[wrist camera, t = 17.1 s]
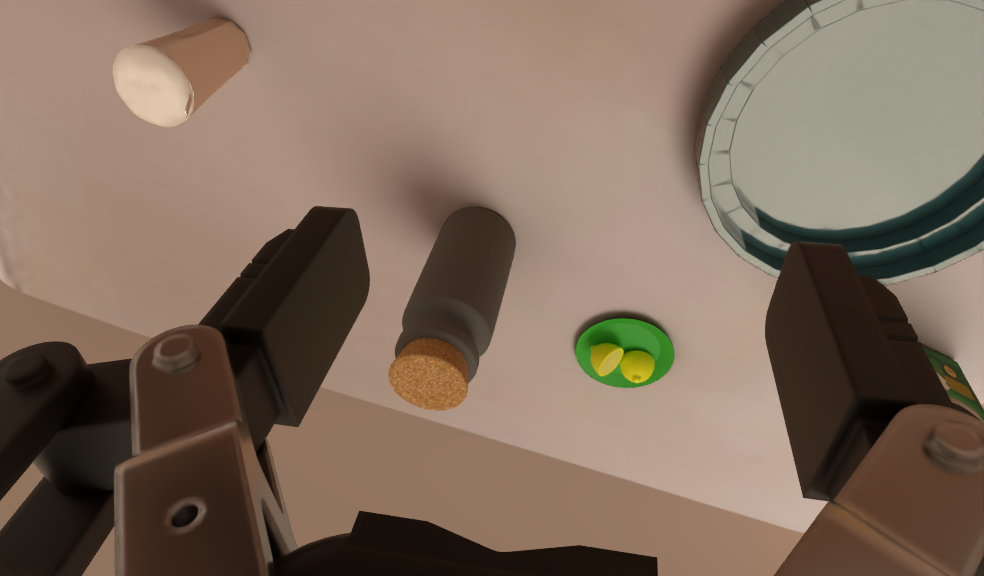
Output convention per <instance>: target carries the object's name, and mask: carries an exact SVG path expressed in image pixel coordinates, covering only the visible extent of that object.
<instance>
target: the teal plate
mask: <svg viewBox="0 0 984 576" xmlns="http://www.w3.org/2000/svg"><path fill="white" fill-rule="evenodd" d="M695 154H696V164H697V174H698V182H699V188H700V194H701V199H702V203H703V205H704V207H705V209H706V211H707V214H708V216H709V218H710V220H711V223H712V225H713V227H714V229H715V231H716V232H717V234H718V235H719V236H720V237H721V238H722V239H723V240H724V241H725V242H726V243H727V244H728V246H729V247H730V248H731V249H732V250H733V251H734V252H735V253H736V254H737V255H738V256H739V257H740V258H742V259H743V260H745V261H747V262H748V263H750V264H752V265H753V266H755V267H757V268H758V269H760V270H762V271H763V272H765V273H767V274H768V275H771V276H775V277H779V274H780V271H781V268H782V265H783V262H784V259H785V256H786V253H787V251H788V249H789V247H790V245H791V244H792V243H793V242H794V241H799V242H813V243H827V244H841V245H843V246H844V247H845V249H846V251H847V253H848V255H849V258H850V260H851V262H852V264H853V266H854V268H855V270H856V272H857V275H866V276H873V277H874V278H875V279H877V280H878V281H879V282H880V283H881V284H882V285H890V284H895V283H899V282H902V281H906V280H910V279H913V278H917V277H920V276H924V275H928V274H931V273H935V272H938V271H940V270H942V269H944V268H946V267H948V266H951V265H953V264H955V263H957V262H959V261H961V260H964V259H966V258H968V257H970V256H972V255H974V254H976V253H979V252H981V251H983V250H984V0H787V1H785V2H784V3H783V4H781V5H780V6H779V7H778V8H776V9H775V10H774V11H773V12H771V13H770V14H769V15H768V16H766V17H765V18H764V19H763V20H761V21H760V22H759V23H758V24H756V25H755V26H754V27H753V28H752V29H751V31H750V32H749V33H748V34H747V35H746V37H745V38H744V39H743V40H742V42H741V43H740V44H739V45H738V46H737V48H736V49H735V50H734V51H733V53H732V54H731V55H730V56H729V57H728V59H727V60H726V61H725V62H724V64H723V65H722V67H721V69H720V71H719V73H718V75H717V77H716V79H715V81H714V83H713V85H712V87H711V89H710V91H709V93H708V95H707V97H706V99H705V101H704V103H703V107H702V109H701V114H700V119H699V125H698V130H697V135H696V140H695Z"/></svg>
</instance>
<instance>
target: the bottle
mask: <svg viewBox="0 0 984 576" xmlns="http://www.w3.org/2000/svg"><path fill="white" fill-rule="evenodd" d="M515 247H516V240H515V235H514V232H513V230H512V228H511V227H510V225H509V224H508V222H507V221H506V220H504V219H503V218H502V217H501V216H499V215H498V214H496V213H495V212H492V211H490V210H487V209H483V208H475V207H471V208H464V209H461V210H459V211H457V212H455V213H453V214H452V215H451V216H450V217H449V218H448V219H447V220H446V222H445V223H444V225H443V227H442V229H441V231H440V234H439V236H438V238H437V240H436V242H435V244H434V246H433V248H432V251H431V253H430V255H429V257H428V260H427V262H426V264H425V266H424V268H423V271H422V273H421V275H420V277H419V279H418V282H417V284H416V286H415V288H414V291H413V293H412V295H411V297H410V300H409V302H408V304H407V307H406V309H405V311H404V315H403V319H402V326H403V330H404V331H403V332H402V333H401V335H400V337H399V339H398V341H397V344H396V347H395V357H396V359H395V360H394V362H393V363H392V364H391V366H390V369H389V374H388V375H389V381H390V384H391V386H392V387H393V389H394V390H395V392H396V393H397V394H398V395H399V396H400V397H402V398H403V399H404V400H406V401H408V402H409V403H411V404H413V405H415V406H417V407H420V408H424V409H429V410H447V409H451V408H454V407H456V406H458V405H459V404H460V403H462V402H463V400H464V399H465V397H466V395H467V391H468V383H469V382H470V381H471V380H472V379H473V377H474V376H475V374H476V371H477V368H478V365H479V357H480V356H482V355H483V354H484V353H485V351H486V350H487V348H488V346H489V344H490V342H491V338H492V335H493V332H494V328H495V324H496V321H497V317H498V313H499V310H500V306H501V302H502V299H503V295H504V291H505V288H506V284H507V280H508V276H509V272H510V268H511V265H512V261H513V257H514V252H515Z"/></svg>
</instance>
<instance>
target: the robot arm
mask: <svg viewBox="0 0 984 576" xmlns="http://www.w3.org/2000/svg"><path fill="white" fill-rule="evenodd" d="M369 285H370V275H369V268H368V263H367V258H366V253H365V248H364V243H363V238H362V233H361V229H360V224H359V219H358V216H357V214H356V212H355V211H354V210H353V209H350V208H336V207H322V206H315V207H313V208H312V209H311V210H310V211H309V212H308V213H307V215H306V216H305V217H304V218H303V220H302V221H301V222H300V223H299V225H298V226H297V227H296V228H295V230H294V229H287V230H286V231H284V232H283V233H281V234H280V235H278V236H276V237H275V238H273V239H272V240H270V241H269V242H267V243H266V244H265V245H264V246H263V247H262V249H261V250H260V251H259V252H258V253H257V255H256V256H255V257H254V258H253V259H252V263H249V264H248V265H247V266H246V268H245V269H244V270H243V271H242V272H241V277H237V278H236V280H235V281H234V282H233V283H232V284H231V286H230V287H229V288H228V289H227V290H226V292H225V293H224V294H223V295H222V296H221V298H220V299H219V300H218V301H217V302H216V304H215V305H214V306H213V307H212V308H211V310H210V311H209V312H208V313H207V314H206V316H205V317H204V318H203V319H202V320H201V322H200V323H199V324H198V325H186V326H181V327H177V328H173V329H171V330H168V331H165V332H163V333H161V334H159V335H157V336H155V337H154V338H152V339H151V340H149V341H148V342H146V343H145V344H144V345H143V346H142V347H141V348H140V349H139V350H138V351H137V352H136V353H135V355H134V357H133V358H132V359H125V360H118V361H110V362H103V363H96V364H88V365H87V363H86V362H85V360H84V359H83V357H82V356H81V354H80V353H79V351H78V350H77V348H76V347H75V346H73V345H71V344H69V343H66V342H44V343H40V344H35V345H32V346H29V347H26V348H23V349H21V350H18V351H16V352H14V353H12V354H10V355H8V356H7V357H5V358H3V359H2V360H0V500H1V499H2V498H3V497H4V496H5V495H6V493H7V492H8V491H9V490H10V489H11V487H12V486H13V485H14V484H15V483H16V481H17V480H18V479H19V478H20V477H21V475H22V474H23V473H24V472H25V471H26V469H27V468H28V467H29V466H30V465H31V463H32V462H33V463H34V464H35V466H36V467H37V468H38V469H39V470H40V471H41V473H42V474H43V475H44V478H43V479H42V480H41V481H40V482H39V484H38V485H37V486H36V487H35V489H34V490H33V491H32V492H31V494H30V495H29V496H28V497H27V499H26V500H25V501H24V502H23V503H22V505H21V506H20V507H19V508H18V510H17V511H16V513H14V515H13V516H12V517H11V518H10V520H9V521H8V522H7V523H6V525H5V526H4V527H3V528H2V530H1V531H0V576H82V574H83V573H84V571H85V570H86V568H87V567H88V565H89V564H90V562H91V561H92V559H93V557H94V556H95V555H96V553H97V552H98V550H99V548H100V547H101V545H102V544H103V542H104V541H105V539H106V538H107V536H108V535H109V533H110V532H111V530H112V529H113V527H114V533H115V534H114V538H115V540H114V541H115V542H114V545H115V576H658V573H657V572H658V571H657V569H658V568H657V557H651V556H644V555H638V554H631V553H625V552H619V551H612V550H606V549H599V548H593V547H587V546H581V545H578V546H567V547H556V548H545V549H535V550H524V551H513V552H497V551H494V550H491V549H489V548H487V547H484V546H482V545H480V544H478V543H475V542H473V541H471V540H468V539H466V538H464V537H462V536H460V535H457V534H455V533H453V532H451V531H448V530H446V529H444V528H441V527H439V526H437V525H435V524H432V523H430V522H427V521H421V520H415V519H408V518H402V517H396V516H390V515H383V514H376V513H371V512H364V511H359V513H358V516H357V518H356V521H355V524H354V526H353V529H352V532H351V533H346V534H340V535H336V536H331V537H327V538H324V539H320V540H318V541H315V542H312V543H309V544H306V545H304V546H302V547H300V548H298V547H297V544H296V542H295V539H294V536H293V533H292V530H291V526H290V522H289V519H288V515H287V511H286V507H285V503H284V500H283V496H282V491H281V488H280V484H279V480H278V476H277V472H276V468H275V464H274V461H273V457H272V453H271V449H270V446H269V443H268V441H267V438H266V437H267V435H268V434H269V432H270V430H271V428H272V427H273V425H274V424H279V425H286V426H293V427H299V425H300V423H301V421H302V419H303V417H304V415H305V414H306V412H307V410H308V408H309V406H310V404H311V402H312V401H313V399H314V397H315V395H316V393H317V391H318V390H319V388H320V386H321V384H322V382H323V380H324V378H325V377H326V375H327V373H328V371H329V369H330V367H331V365H332V363H333V362H334V360H335V358H336V356H337V354H338V352H339V350H340V349H341V347H342V345H343V343H344V341H345V339H346V337H347V336H348V334H349V332H350V330H351V328H352V326H353V324H354V323H355V321H356V319H357V317H358V315H359V313H360V311H361V310H362V308H363V306H364V304H365V302H366V299H367V296H368V292H369ZM765 339H766V345H767V349H768V353H769V357H770V361H771V366H772V370H773V374H774V378H775V382H776V386H777V390H778V395H779V399H780V403H781V407H782V411H783V415H784V420H785V424H786V428H787V432H788V436H789V440H790V444H791V449H792V453H793V457H794V461H795V465H796V469H797V474H798V478H799V482H800V486H801V490H802V494H803V498H809V499H816V500H823V501H829V502H828V503H827V504H826V505H825V507H824V508H823V509H822V511H821V512H820V513H819V515H818V516H817V517H816V519H815V520H814V521H813V523H812V524H811V525H810V527H809V528H808V530H807V531H806V532H805V534H804V535H803V536H802V538H801V539H800V541H799V542H798V544H797V545H796V546H795V547H794V549H793V550H792V552H791V553H790V554H789V555H788V557H787V558H786V560H785V561H784V562H783V564H782V565H781V566H780V568H779V569H778V571H777V572H776V573H775V575H774V576H984V423H983V422H981V421H980V420H978V419H976V418H974V417H972V416H970V415H968V414H966V413H963V412H961V411H958V410H956V409H955V407H954V405H953V403H952V402H951V400H950V398H949V396H948V394H947V392H946V390H945V388H944V386H943V384H942V383H941V381H940V379H939V377H938V375H937V373H936V371H935V369H934V367H933V365H932V364H931V362H930V360H929V358H928V356H927V354H926V352H925V350H924V348H923V346H922V344H921V343H918V341H917V340H918V337H917V335H916V333H915V331H914V329H913V327H912V325H911V324H908V318H907V316H906V314H905V312H904V310H903V308H902V306H901V305H900V303H899V301H898V299H897V297H896V296H895V295H894V294H893V293H892V292H890V291H889V290H888V289H887V288H886V287H885V286H884V285H882V284H881V283H880V282H879V281H878V280H877V279H875V278H874V277H873V276H866V275H857V272H856V270H855V268H854V266H853V264H852V262H851V260H850V258H849V255H848V253H847V251H846V249H845V247H844V246H843V245H841V244H827V243H813V242H799V241H794V242H793V243H792V244H791V245H790V247H789V249H788V251H787V253H786V256H785V259H784V262H783V265H782V268H781V271H780V274H779V277H778V280H777V283H776V286H775V289H774V292H773V295H772V298H771V301H770V304H769V307H768V311H767V316H766V323H765Z"/></svg>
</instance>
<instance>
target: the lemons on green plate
mask: <svg viewBox="0 0 984 576" xmlns="http://www.w3.org/2000/svg"><path fill="white" fill-rule="evenodd" d="M576 357H577V361H578V363H579V365H580V367H581V368H582V369H583V370H584V372H585V373H587V374H588V375H589V376H590V377H592V378H593V379H595V380H597V381H598V382H601V383H603V384H606V385H610V386H614V387H622V388H634V387H640V386H644V385H648V384H651V383H653V382H655V381H657V380H659V379H660V378H661V377H663V376H664V375H665V374H666V373H667V372H668V371H669V369H670V368H671V366H672V364H673V360H674V349H673V346H672V343H671V341H670V340H669V339H668V337H667V336H666V335H665V334H664V333H663V332H662V331H661V330H659V329H658V328H656V327H655V326H653V325H651V324H648V323H646V322H643V321H639V320H635V319H625V318H622V319H611V320H606V321H603V322H600V323H598V324H595V325H594V326H592V327H590V328H589V329H587V330H586V331H585V332H584V333H583V334H582V335H581V337H580V338H579V340H578V342H577V345H576Z"/></svg>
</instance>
